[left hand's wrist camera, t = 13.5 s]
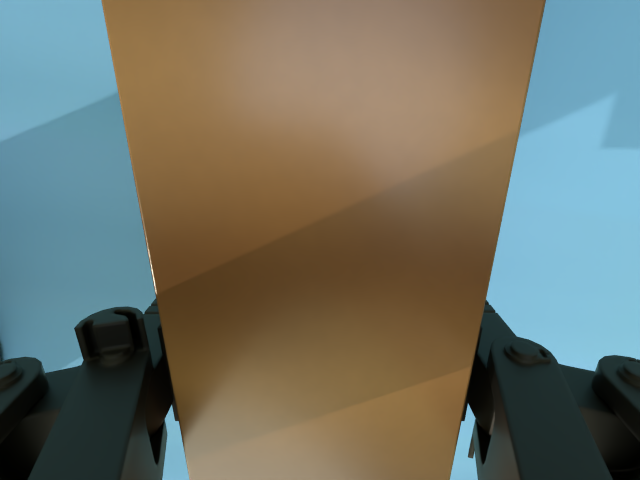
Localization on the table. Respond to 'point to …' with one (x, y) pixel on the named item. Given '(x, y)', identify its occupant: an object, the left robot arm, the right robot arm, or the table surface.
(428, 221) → the bar
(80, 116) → the table surface
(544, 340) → the table surface
